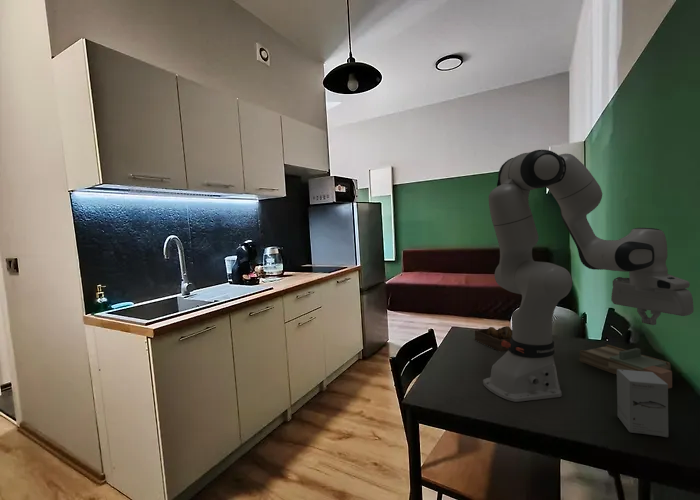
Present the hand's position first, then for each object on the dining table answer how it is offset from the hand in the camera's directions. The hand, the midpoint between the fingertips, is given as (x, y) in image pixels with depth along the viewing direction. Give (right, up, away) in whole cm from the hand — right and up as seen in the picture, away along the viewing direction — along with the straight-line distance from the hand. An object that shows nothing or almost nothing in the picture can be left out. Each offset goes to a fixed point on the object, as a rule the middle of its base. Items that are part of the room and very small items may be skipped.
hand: (648, 323), depth 102 cm
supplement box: (-23, -20, -23) cm, 38 cm away
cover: (0, -13, +4) cm, 14 cm away
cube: (-2, -18, -5) cm, 18 cm away
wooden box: (-1, -17, +9) cm, 19 cm away
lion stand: (-32, -17, +38) cm, 52 cm away
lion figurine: (-30, -18, +37) cm, 51 cm away
